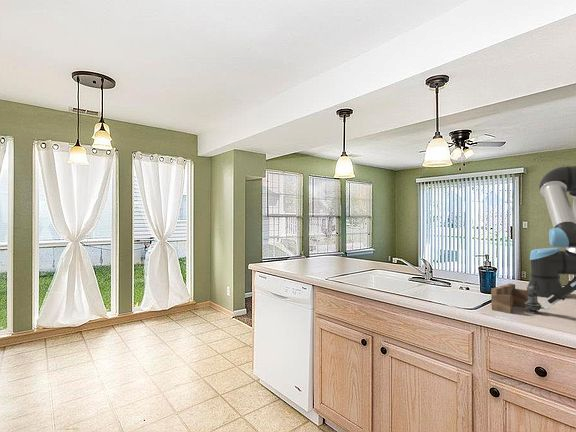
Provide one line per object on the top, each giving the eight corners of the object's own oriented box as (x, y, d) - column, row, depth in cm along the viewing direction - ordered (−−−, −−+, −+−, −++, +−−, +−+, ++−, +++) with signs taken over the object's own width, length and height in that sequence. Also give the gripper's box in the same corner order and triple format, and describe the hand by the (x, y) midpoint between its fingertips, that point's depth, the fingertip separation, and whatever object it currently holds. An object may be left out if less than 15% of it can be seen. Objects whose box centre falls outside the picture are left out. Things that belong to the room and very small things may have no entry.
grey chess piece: (534, 310, 135) (533, 281, 136) (546, 314, 129) (545, 284, 130) (520, 310, 135) (520, 282, 135) (532, 314, 129) (531, 284, 129)
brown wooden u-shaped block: (510, 303, 147) (510, 283, 147) (528, 306, 141) (528, 285, 141) (491, 309, 137) (491, 288, 137) (510, 313, 131) (509, 291, 132)
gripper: (603, 279, 110) (545, 317, 123) (613, 275, 117) (557, 311, 130) (582, 262, 114) (528, 300, 128) (593, 259, 121) (541, 296, 135)
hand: (543, 306), depth 129 cm, fingers closed
